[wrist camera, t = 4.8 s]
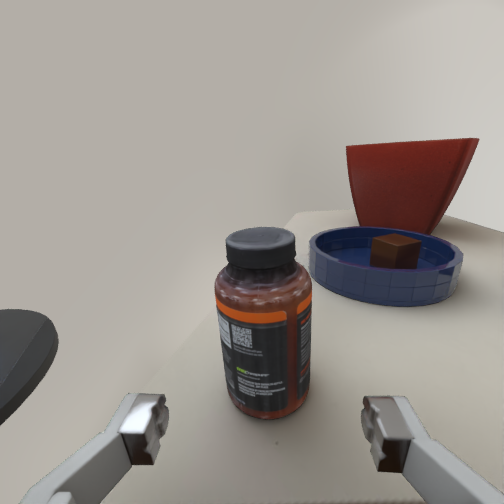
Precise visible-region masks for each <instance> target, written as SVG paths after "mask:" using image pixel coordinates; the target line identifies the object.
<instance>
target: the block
mask: <svg viewBox="0 0 504 504" xmlns="http://www.w3.org/2000/svg"><path fill="white" fill-rule="evenodd" d="M421 243H422V241H420V240H417V239H413V238H410V237H406V236H403V235H399V234H396V233H394V234H388V235H383V236H378V237H373V239H372V247H371V255H370V263H369V265H371V266H374V267H378V268H386V269H416V268H417V263H418V258H419V253H420V248H421Z"/></svg>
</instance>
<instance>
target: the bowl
mask: <svg viewBox="0 0 504 504" xmlns="http://www.w3.org/2000/svg"><path fill="white" fill-rule="evenodd" d="M394 233H396V234H399V235H403V236H406V237H410V238H413V239H417V240H420V241H422V243H421V248H420V253H419V258H418V263H417V268H416V269H386V268H378V267H374V266H371V265H369V263H370V255H371V247H372V239H373V237H378V236H383V235H388V234H394ZM462 262H463V253H462V252H461V251H460V249H459V248H458V247H456V246H455V245H453V244H451V243H449V242H448V241H445V240H442V239H440V238H437V237H434V236H431V235H427V234H423V233H419V232H414V231H409V230H403V229H396V228H387V227H371V226H370V227H369V226H356V227H343V228H336V229H330V230H326V231H323V232H320V233H318V234H316V235H314V236H313V237H312V238H311V239H310V241H309V272H310V274H311V276H312V277H313V278H314V279H315V281H317V282H318V283H319V284H320V285H322V286H323V287H325V288H327V289H329V290H331V291H333V292H335V293H337V294H340V295H342V296H345V297H348V298H351V299H355V300H359V301H362V302H367V303H372V304H379V305H386V306H409V307H410V306H423V305H429V304H434V303H437V302H440V301H443V300H445V299H447V298H448V297H450V296H451V295H452V294H453V292H454V290H455V288H456V285H457V281H458V277H459V273H460V270H461V266H462Z"/></svg>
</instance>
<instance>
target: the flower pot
mask: <svg viewBox="0 0 504 504" xmlns="http://www.w3.org/2000/svg"><path fill="white" fill-rule="evenodd" d="M478 142H479V139H478V138H462V139H444V140H426V141H411V142H395V143H379V144H366V145H352V146H346V155H347V166H348V175H349V182H350V188H351V193H352V198H353V203H354V207H355V211H356V215H357V218H358V221H359V224H360V226H369V227H370V226H371V227H387V228H396V229H403V230H409V231H414V232H419V233H423V234H427V235H430V233H431V232H432V231H433V229H434V228H435V227H436V225H437V224H438V223H439V221H440V220H441V218H442V216H443V215H444V213H445V211H446V210H447V208H448V206H449V205H450V203H451V201H452V199H453V197H454V195H455V194H456V192H457V190H458V188H459V186H460V184H461V181H462V180H463V177H464V175H465V173H466V171H467V169H468V166H469V164H470V162H471V160H472V157H473V155H474V152H475V149H476V147H477V144H478Z"/></svg>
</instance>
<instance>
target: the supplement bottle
mask: <svg viewBox="0 0 504 504" xmlns="http://www.w3.org/2000/svg"><path fill="white" fill-rule="evenodd" d="M226 250H227V256H226V257H227V260H228V262H229V263H228V265H227V266H226V267H224V268H223V269H222V270H221V272H219V274H218V276H217V278H216V281H215V297H216V306H217V314H218V321H219V329H220V338H221V345H222V353H223V361H224V369H225V377H226V383H227V389H228V393H229V395H230V397H231V399H232V401H233V403H234V404H235V405H236V406H237V407H238V408H239V409H240V410H242V411H243V412H244V413H246V414H248V415H250V416H253V417H256V418H261V419H276V418H281V417H284V416H286V415H288V414H290V413H292V412H293V411H295V410H296V409H297V408H299V407H300V406H301V405H302V403H303V402H304V400H305V398H306V396H307V393H308V390H309V382H310V354H311V308H312V282H311V278H310V275H309V273H308V272H307V271H306V269H305V268H304V267H303V266H302V265H301V264H299V263H298V262H296V261H295V259H294V258H295V256H296V251H295V236H294V234H293V233H292V232H290V231H288V230H285V229H282V228H275V227H257V228H249V229H244V230H240V231H236V232H234V233H232V234H230V235H229V236H228V237H227V238H226Z"/></svg>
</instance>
